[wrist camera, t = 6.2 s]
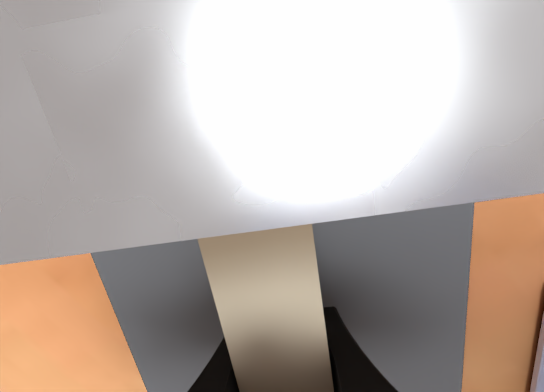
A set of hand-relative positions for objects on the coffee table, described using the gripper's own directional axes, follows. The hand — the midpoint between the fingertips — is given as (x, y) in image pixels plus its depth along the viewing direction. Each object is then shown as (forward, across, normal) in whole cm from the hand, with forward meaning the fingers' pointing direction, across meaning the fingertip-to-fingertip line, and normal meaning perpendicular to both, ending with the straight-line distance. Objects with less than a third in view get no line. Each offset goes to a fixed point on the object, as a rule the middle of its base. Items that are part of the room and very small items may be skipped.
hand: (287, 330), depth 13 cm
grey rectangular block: (+1, 0, -10) cm, 10 cm away
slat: (+1, 0, 0) cm, 1 cm away
